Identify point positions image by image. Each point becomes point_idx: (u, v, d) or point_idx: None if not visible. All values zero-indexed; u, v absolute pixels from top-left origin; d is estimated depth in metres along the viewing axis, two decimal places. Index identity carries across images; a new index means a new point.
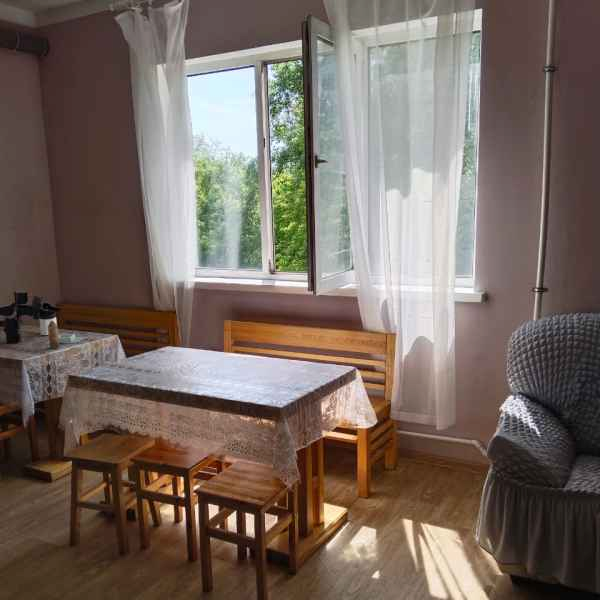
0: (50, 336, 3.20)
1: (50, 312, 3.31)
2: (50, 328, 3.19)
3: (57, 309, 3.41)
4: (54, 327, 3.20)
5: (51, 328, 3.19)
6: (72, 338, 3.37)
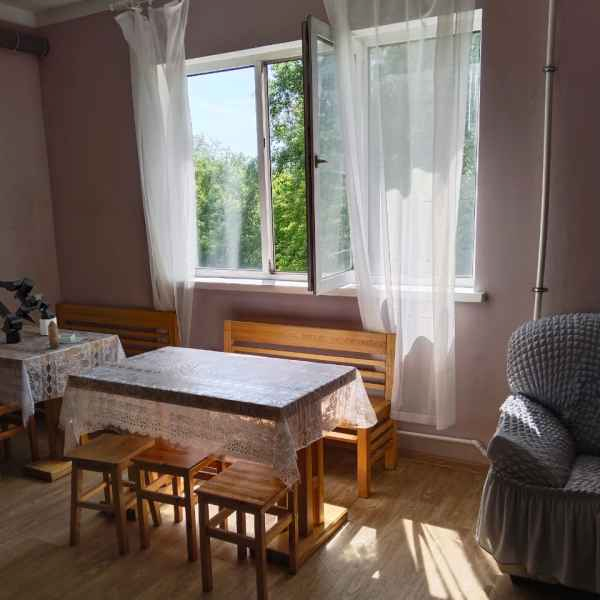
0: (50, 336, 3.20)
1: (31, 320, 3.20)
2: (50, 328, 3.19)
3: (47, 316, 3.29)
4: (54, 327, 3.20)
5: (51, 328, 3.19)
6: (72, 338, 3.37)
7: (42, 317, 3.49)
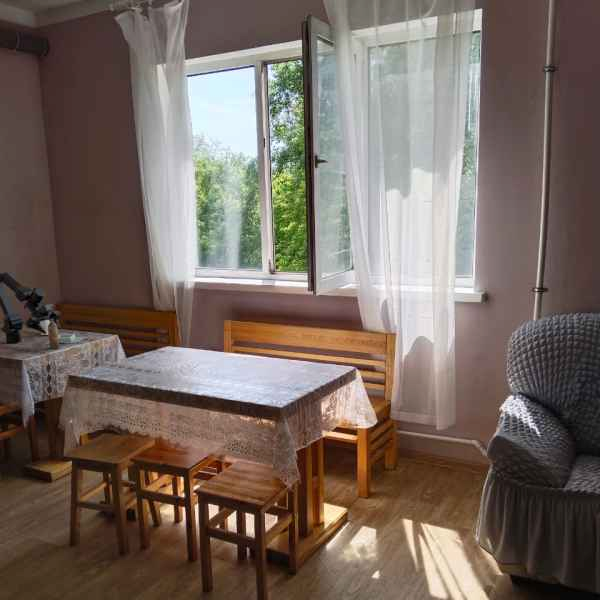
0: (50, 336, 3.20)
1: (41, 330, 3.18)
2: (50, 328, 3.19)
3: (57, 326, 3.26)
4: (54, 327, 3.20)
5: (51, 328, 3.19)
6: (72, 338, 3.37)
7: None
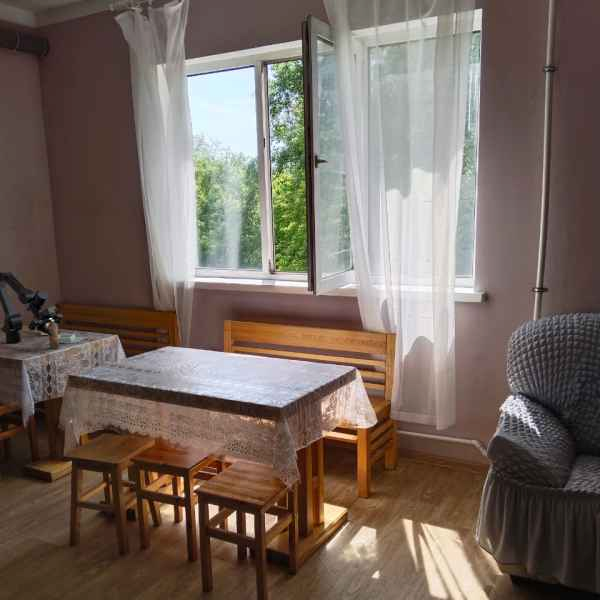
0: (50, 336, 3.20)
1: (47, 332, 3.19)
2: (50, 328, 3.19)
3: None
4: (54, 327, 3.20)
5: (51, 328, 3.19)
6: (72, 338, 3.37)
7: None
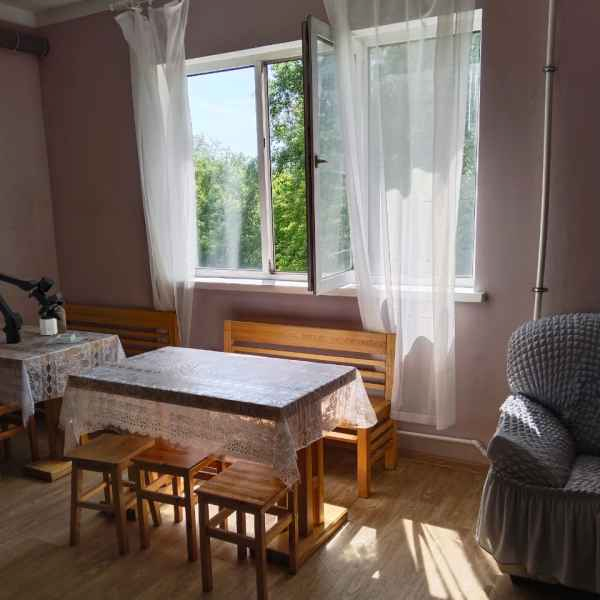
0: (59, 321, 3.29)
1: (57, 317, 3.28)
2: (59, 313, 3.28)
3: None
4: (63, 312, 3.29)
5: (60, 313, 3.28)
6: (72, 338, 3.37)
7: (42, 317, 3.49)
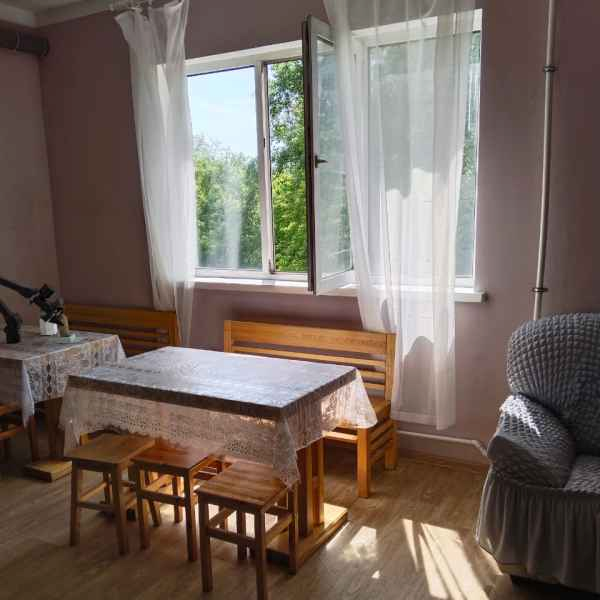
0: (62, 328, 3.35)
1: (60, 323, 3.32)
2: (62, 321, 3.34)
3: None
4: (66, 319, 3.35)
5: (63, 321, 3.34)
6: (72, 338, 3.37)
7: (42, 317, 3.49)
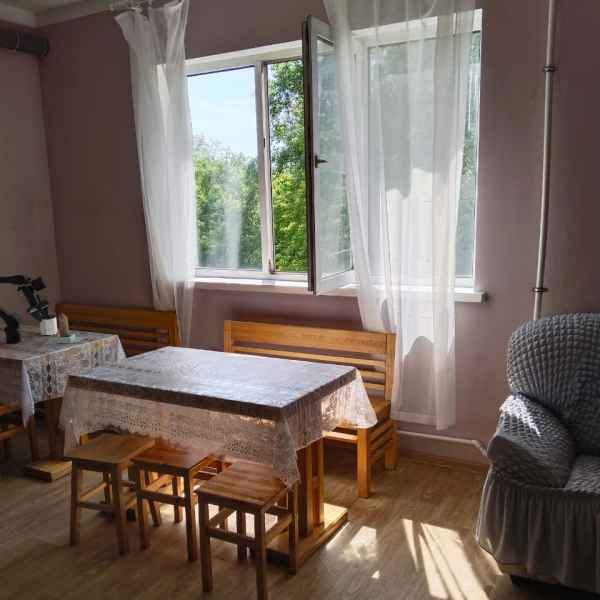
0: (62, 328, 3.35)
1: (47, 315, 3.34)
2: (63, 320, 3.34)
3: (39, 318, 3.41)
4: (66, 319, 3.36)
5: (64, 320, 3.35)
6: (72, 338, 3.37)
7: (42, 317, 3.49)
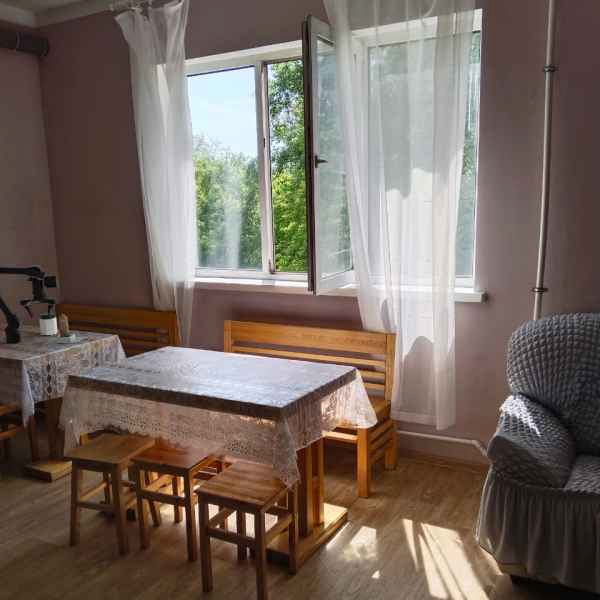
0: (63, 328, 3.35)
1: (50, 312, 3.39)
2: (63, 321, 3.34)
3: (31, 313, 3.38)
4: (66, 319, 3.35)
5: (64, 321, 3.34)
6: (72, 338, 3.37)
7: (42, 317, 3.49)
